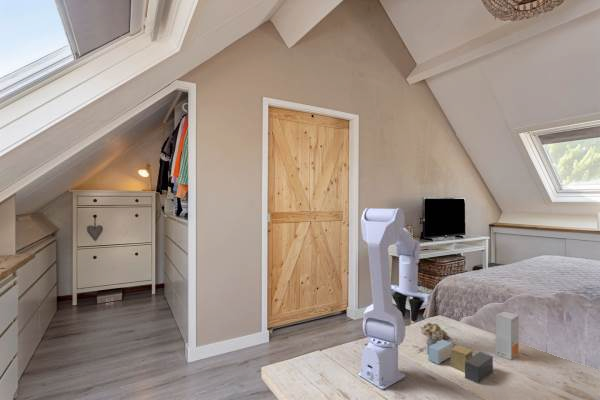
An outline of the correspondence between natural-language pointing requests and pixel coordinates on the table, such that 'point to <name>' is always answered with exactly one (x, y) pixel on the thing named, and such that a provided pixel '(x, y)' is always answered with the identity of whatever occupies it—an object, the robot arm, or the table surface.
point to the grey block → (478, 367)
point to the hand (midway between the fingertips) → (408, 318)
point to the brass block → (460, 357)
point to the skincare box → (507, 335)
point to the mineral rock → (434, 332)
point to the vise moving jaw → (439, 350)
